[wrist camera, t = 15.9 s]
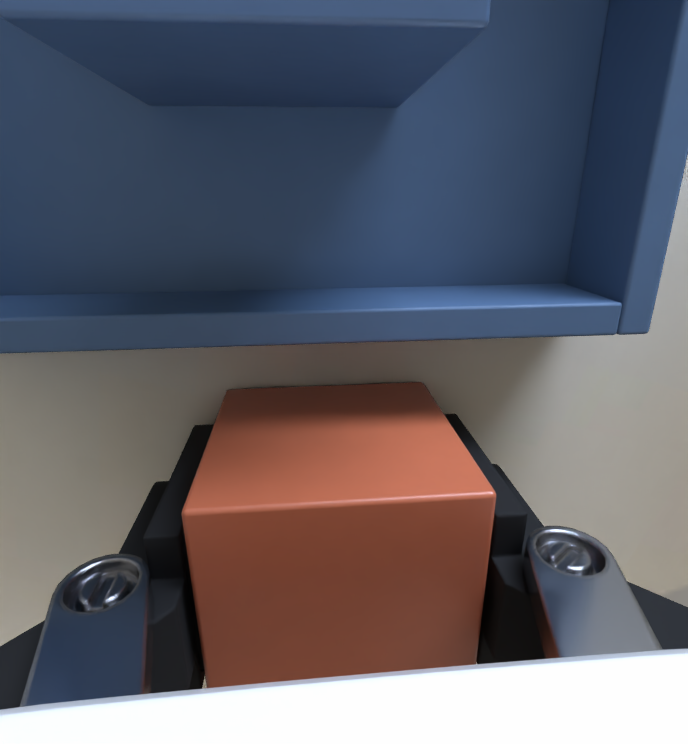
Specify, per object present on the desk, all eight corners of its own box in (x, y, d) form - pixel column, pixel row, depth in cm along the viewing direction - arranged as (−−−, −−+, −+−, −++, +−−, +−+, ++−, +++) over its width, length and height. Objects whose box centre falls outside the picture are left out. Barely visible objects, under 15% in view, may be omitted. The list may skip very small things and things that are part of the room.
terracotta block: (241, 550, 12) (212, 735, 8) (225, 388, 11) (178, 512, 7) (414, 539, 13) (472, 711, 8) (423, 380, 11) (499, 493, 7)
